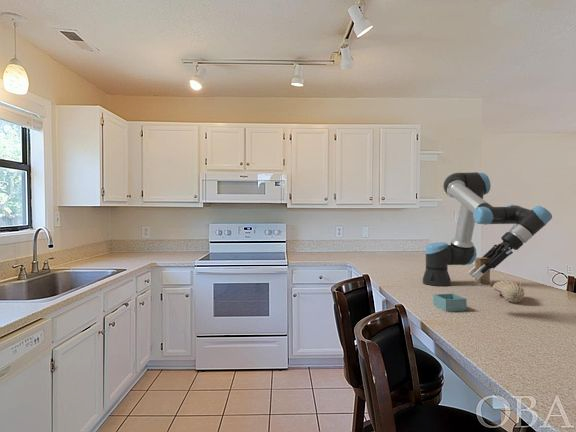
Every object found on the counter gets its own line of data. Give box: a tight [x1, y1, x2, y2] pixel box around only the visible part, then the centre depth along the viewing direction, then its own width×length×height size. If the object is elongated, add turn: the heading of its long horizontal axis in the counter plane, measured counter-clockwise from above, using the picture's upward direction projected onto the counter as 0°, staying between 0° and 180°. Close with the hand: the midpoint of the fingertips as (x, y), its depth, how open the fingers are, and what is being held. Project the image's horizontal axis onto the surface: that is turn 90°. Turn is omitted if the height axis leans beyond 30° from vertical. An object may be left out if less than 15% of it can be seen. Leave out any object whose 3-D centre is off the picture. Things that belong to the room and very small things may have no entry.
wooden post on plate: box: [473, 256, 491, 286], centre depth 148 cm, size 4×4×11 cm
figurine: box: [489, 280, 525, 304], centre depth 173 cm, size 12×9×30 cm
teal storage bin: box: [432, 293, 468, 312], centre depth 155 cm, size 10×10×5 cm
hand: (472, 276), depth 149 cm, fingers closed on wooden post on plate, 4 cm apart
